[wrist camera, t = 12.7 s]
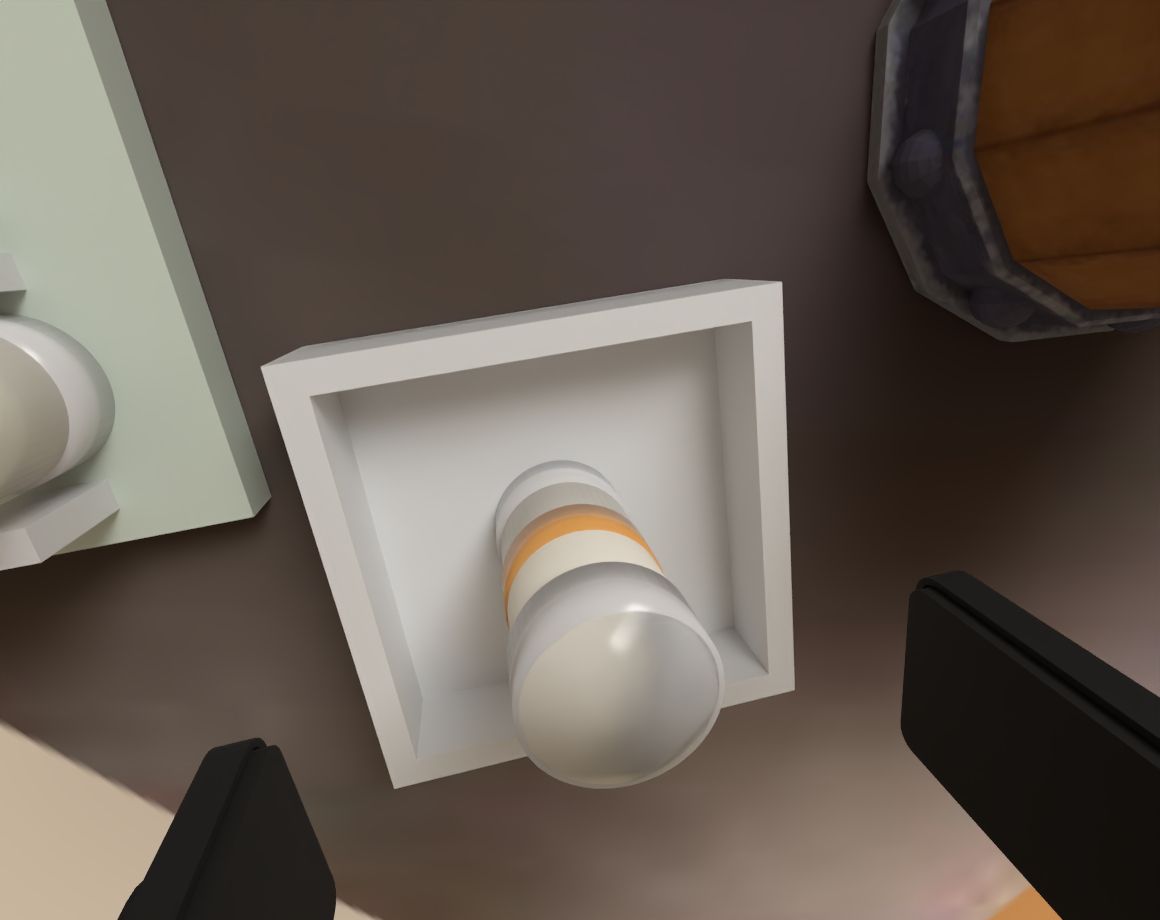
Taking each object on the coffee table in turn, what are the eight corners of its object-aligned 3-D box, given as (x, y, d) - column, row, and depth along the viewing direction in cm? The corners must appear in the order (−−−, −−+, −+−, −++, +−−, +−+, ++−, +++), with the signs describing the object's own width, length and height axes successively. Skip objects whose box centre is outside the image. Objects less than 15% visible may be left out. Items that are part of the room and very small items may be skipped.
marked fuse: (483, 473, 17) (492, 634, 10) (613, 449, 18) (717, 584, 10) (507, 589, 18) (532, 810, 11) (628, 563, 19) (731, 759, 11)
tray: (302, 346, 16) (260, 366, 13) (724, 278, 18) (782, 281, 14) (406, 704, 20) (394, 788, 17) (745, 625, 22) (794, 690, 18)
